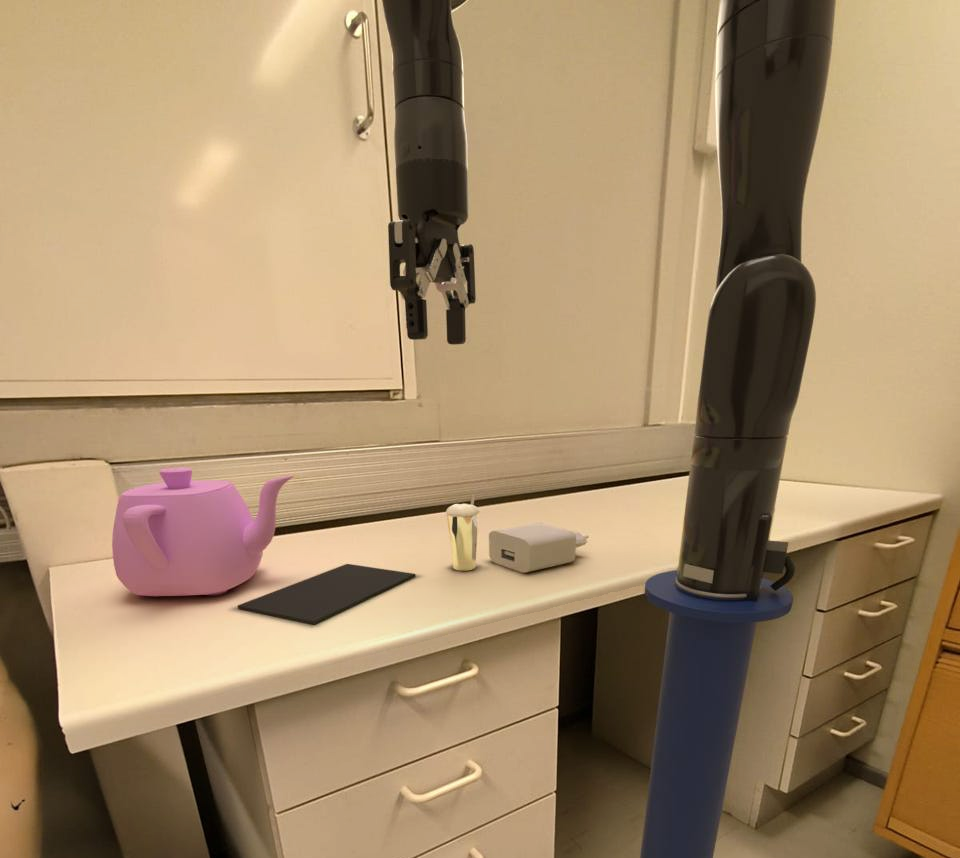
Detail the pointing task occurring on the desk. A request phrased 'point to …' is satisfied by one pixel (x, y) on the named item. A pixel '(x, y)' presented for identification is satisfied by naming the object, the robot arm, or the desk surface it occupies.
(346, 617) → the desk surface
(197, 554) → the teapot
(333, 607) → the mat
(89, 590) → the desk surface
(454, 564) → the milkshake
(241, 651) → the desk surface
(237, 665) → the desk surface
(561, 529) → the charger
